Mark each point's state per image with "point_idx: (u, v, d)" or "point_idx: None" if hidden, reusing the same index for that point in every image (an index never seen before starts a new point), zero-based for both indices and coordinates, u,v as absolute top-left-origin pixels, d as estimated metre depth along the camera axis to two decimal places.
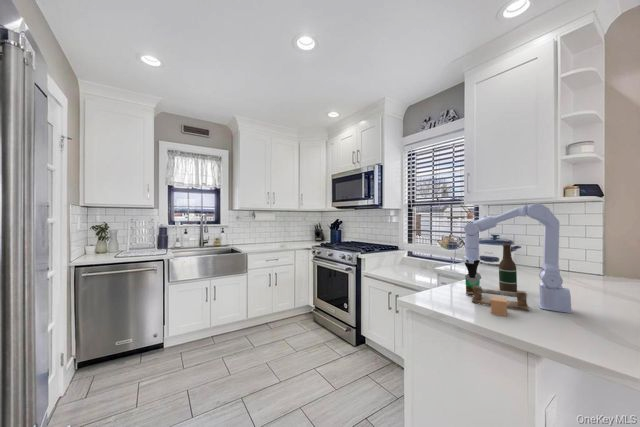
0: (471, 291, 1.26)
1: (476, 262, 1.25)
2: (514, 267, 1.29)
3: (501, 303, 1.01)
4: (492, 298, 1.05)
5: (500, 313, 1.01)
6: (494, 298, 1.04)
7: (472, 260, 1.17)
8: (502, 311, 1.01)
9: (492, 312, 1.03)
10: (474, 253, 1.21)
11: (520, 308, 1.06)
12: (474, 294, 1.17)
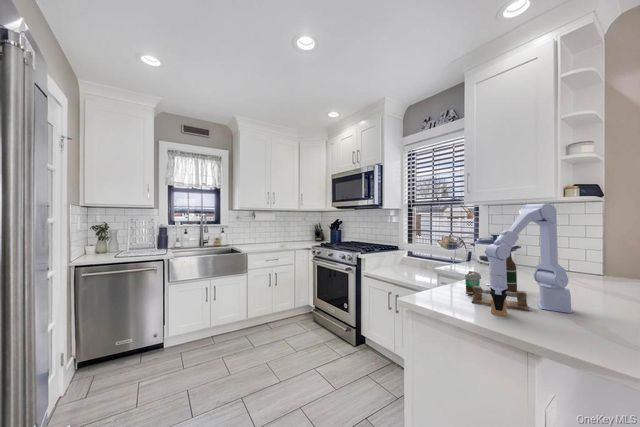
0: (471, 291, 1.26)
1: (502, 291, 1.05)
2: (514, 267, 1.29)
3: None
4: (492, 298, 1.05)
5: (500, 313, 1.01)
6: None
7: (500, 291, 0.97)
8: (502, 311, 1.01)
9: (492, 312, 1.03)
10: (501, 281, 1.01)
11: (520, 308, 1.06)
12: (474, 294, 1.17)
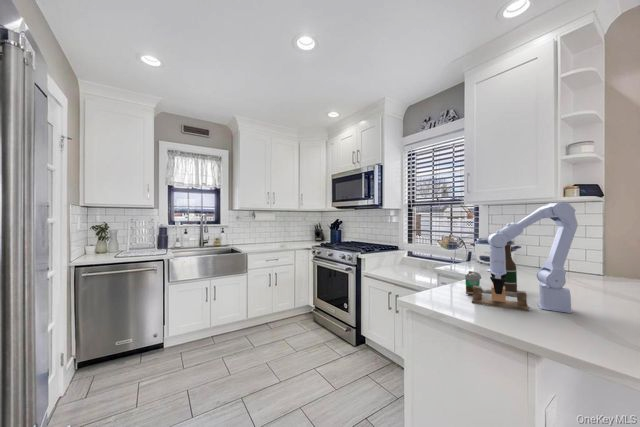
0: (471, 291, 1.26)
1: (501, 276, 1.16)
2: (514, 267, 1.29)
3: None
4: (492, 286, 1.15)
5: (499, 299, 1.11)
6: None
7: (499, 275, 1.07)
8: (501, 297, 1.11)
9: (492, 299, 1.12)
10: (501, 267, 1.11)
11: (520, 308, 1.06)
12: (474, 294, 1.17)
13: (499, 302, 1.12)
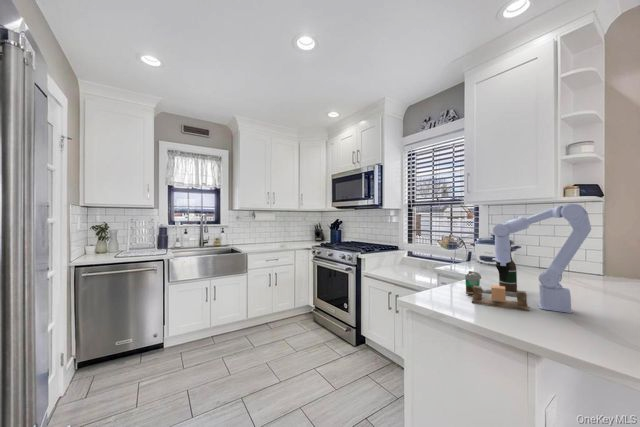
0: (471, 291, 1.26)
1: (506, 264, 1.22)
2: (514, 267, 1.29)
3: (500, 290, 1.11)
4: (492, 286, 1.15)
5: (499, 299, 1.11)
6: (494, 286, 1.14)
7: (504, 262, 1.13)
8: (501, 297, 1.11)
9: (492, 298, 1.12)
10: (506, 255, 1.17)
11: (520, 308, 1.06)
12: (474, 294, 1.17)
13: (499, 302, 1.12)
